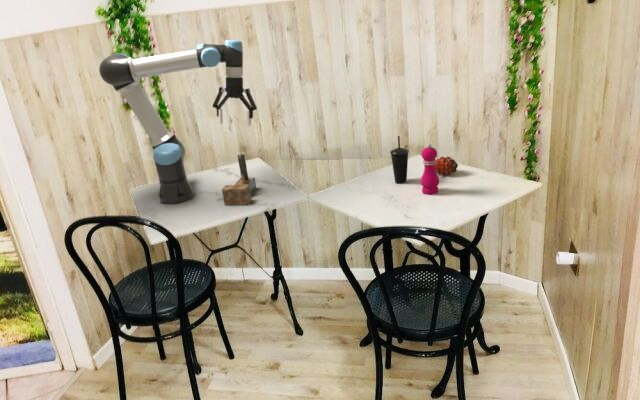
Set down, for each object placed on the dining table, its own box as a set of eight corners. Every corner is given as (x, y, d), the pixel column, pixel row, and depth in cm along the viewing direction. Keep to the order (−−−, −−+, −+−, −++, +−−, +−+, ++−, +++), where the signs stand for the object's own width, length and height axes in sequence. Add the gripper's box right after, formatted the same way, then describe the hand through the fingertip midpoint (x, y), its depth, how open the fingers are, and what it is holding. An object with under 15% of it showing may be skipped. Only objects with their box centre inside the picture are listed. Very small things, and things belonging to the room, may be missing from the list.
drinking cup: (411, 184, 217) (409, 138, 210) (392, 185, 218) (390, 139, 210) (408, 177, 224) (406, 132, 217) (390, 179, 225) (388, 134, 217)
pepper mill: (439, 195, 204) (438, 146, 196) (420, 195, 205) (419, 147, 198) (439, 188, 210) (438, 140, 203) (421, 188, 212) (419, 141, 204)
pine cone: (460, 179, 221) (432, 181, 226) (460, 162, 226) (432, 165, 231) (456, 167, 215) (427, 171, 220) (456, 151, 219) (428, 154, 224)
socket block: (224, 205, 218) (221, 189, 215) (228, 200, 222) (225, 185, 220) (247, 204, 216) (244, 188, 213) (251, 199, 220) (248, 184, 218)
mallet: (232, 200, 218) (226, 166, 212) (243, 186, 232) (237, 154, 226) (241, 199, 217) (235, 165, 212) (251, 186, 231) (246, 154, 225)
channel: (234, 197, 225) (232, 186, 223) (242, 188, 234) (240, 177, 232) (249, 196, 224) (248, 185, 222) (256, 187, 233) (254, 177, 231)
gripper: (263, 77, 232) (263, 125, 238) (211, 74, 236) (212, 121, 243) (258, 78, 225) (258, 127, 231) (204, 75, 229) (205, 123, 236)
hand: (234, 124), depth 237 cm, fingers open, 13 cm apart
